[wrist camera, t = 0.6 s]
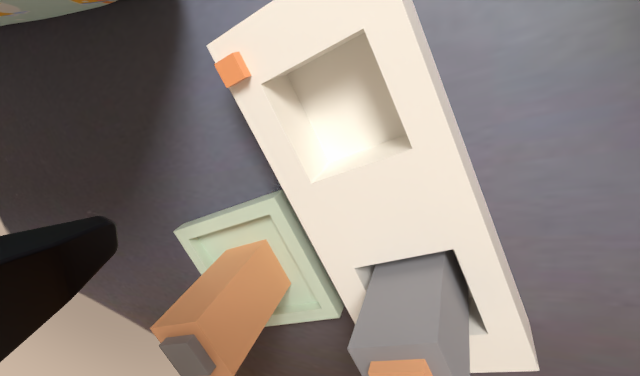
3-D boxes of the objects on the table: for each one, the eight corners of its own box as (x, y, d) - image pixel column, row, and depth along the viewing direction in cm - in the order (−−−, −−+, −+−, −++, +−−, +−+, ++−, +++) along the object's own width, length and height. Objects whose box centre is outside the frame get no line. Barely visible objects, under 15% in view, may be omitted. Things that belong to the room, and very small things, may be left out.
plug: (291, 283, 27) (227, 385, 19) (251, 290, 29) (179, 386, 21) (266, 239, 26) (188, 330, 18) (226, 249, 28) (142, 336, 20)
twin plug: (468, 287, 22) (471, 428, 14) (405, 296, 23) (379, 424, 16) (445, 232, 21) (436, 355, 13) (381, 246, 22) (343, 360, 15)
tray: (344, 305, 26) (339, 317, 25) (244, 319, 31) (237, 330, 30) (282, 189, 24) (274, 197, 23) (183, 223, 28) (173, 231, 27)
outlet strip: (529, 321, 22) (541, 380, 18) (391, 333, 26) (380, 383, 23) (392, -55, 16) (372, -73, 12) (243, 40, 20) (198, 46, 17)
